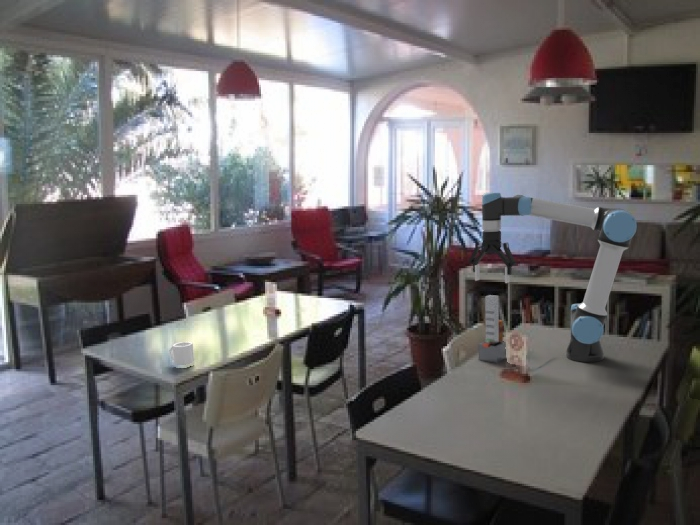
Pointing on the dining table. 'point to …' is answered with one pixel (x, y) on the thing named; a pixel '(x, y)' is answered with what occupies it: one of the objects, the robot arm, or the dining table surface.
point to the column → (492, 319)
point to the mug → (501, 330)
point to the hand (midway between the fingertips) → (492, 281)
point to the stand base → (492, 351)
